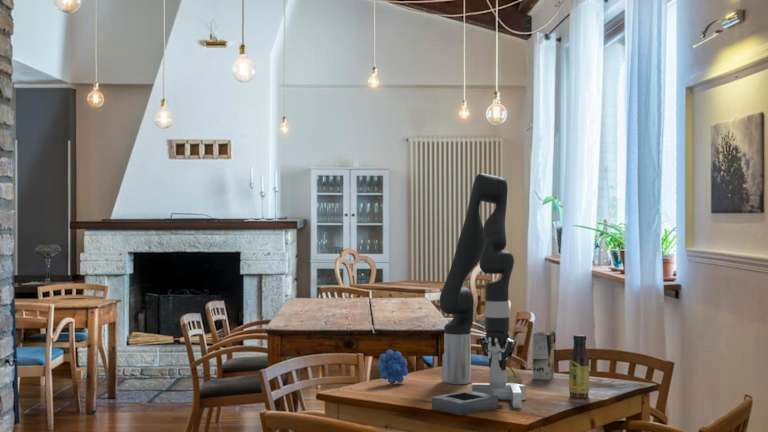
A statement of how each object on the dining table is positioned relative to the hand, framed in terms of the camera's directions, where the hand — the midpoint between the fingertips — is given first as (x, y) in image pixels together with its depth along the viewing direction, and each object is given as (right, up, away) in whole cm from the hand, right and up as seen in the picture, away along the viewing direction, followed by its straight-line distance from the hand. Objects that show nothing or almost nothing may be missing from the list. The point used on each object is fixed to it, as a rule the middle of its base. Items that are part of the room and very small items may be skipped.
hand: (497, 370), depth 258 cm
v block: (+3, -10, +2) cm, 10 cm away
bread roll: (+5, -10, +19) cm, 22 cm away
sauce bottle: (+27, -10, +9) cm, 30 cm away
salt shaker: (0, -5, 0) cm, 5 cm away
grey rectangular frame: (-11, -9, -9) cm, 17 cm away
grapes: (-32, -10, +29) cm, 45 cm away
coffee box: (+23, -11, +44) cm, 51 cm away
